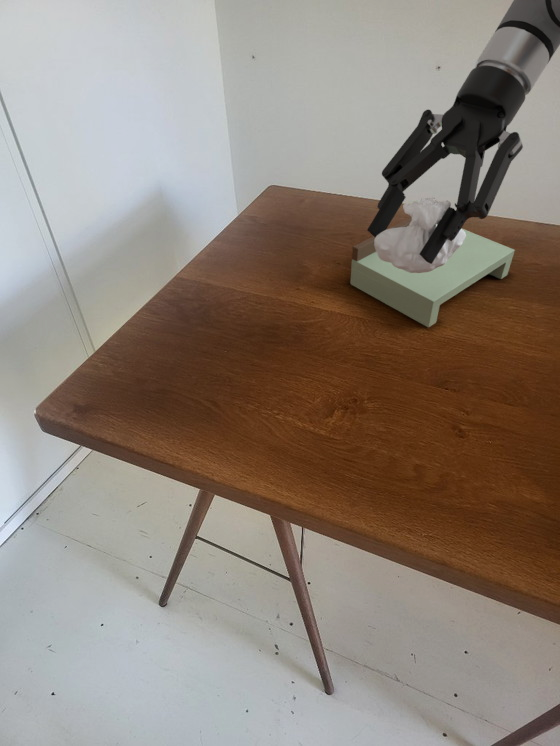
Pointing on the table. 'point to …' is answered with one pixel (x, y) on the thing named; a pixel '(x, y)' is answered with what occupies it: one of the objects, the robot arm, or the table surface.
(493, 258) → the shoe shelf
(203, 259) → the table surface
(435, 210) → the bust
